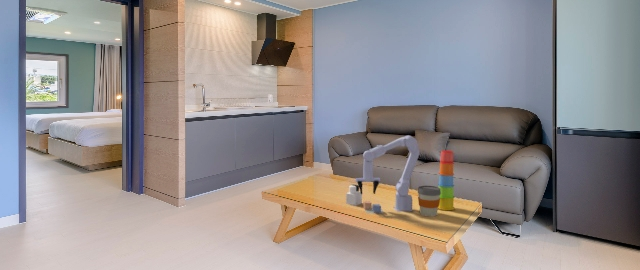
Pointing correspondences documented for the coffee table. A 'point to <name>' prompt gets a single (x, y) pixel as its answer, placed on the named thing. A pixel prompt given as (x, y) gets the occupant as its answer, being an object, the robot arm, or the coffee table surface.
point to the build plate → (372, 211)
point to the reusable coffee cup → (429, 200)
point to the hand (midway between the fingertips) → (367, 193)
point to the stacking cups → (446, 181)
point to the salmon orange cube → (367, 205)
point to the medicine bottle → (353, 195)
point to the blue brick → (376, 208)
